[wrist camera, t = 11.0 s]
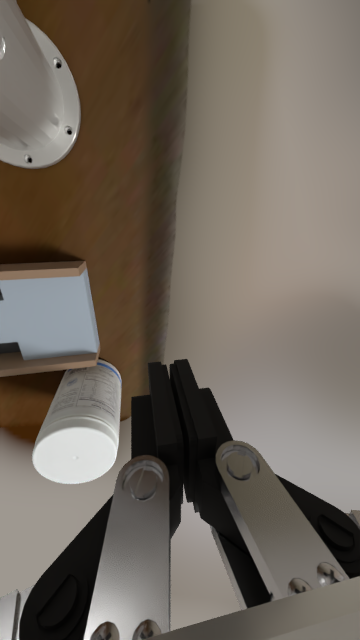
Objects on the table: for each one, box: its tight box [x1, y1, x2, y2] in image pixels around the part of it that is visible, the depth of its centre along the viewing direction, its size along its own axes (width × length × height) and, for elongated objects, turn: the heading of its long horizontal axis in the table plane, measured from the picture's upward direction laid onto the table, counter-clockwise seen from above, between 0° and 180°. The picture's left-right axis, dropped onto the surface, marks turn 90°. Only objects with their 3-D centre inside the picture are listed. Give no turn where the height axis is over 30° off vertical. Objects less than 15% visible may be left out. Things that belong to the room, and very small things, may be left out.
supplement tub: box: [32, 359, 121, 484], centre depth 34 cm, size 10×10×15 cm
